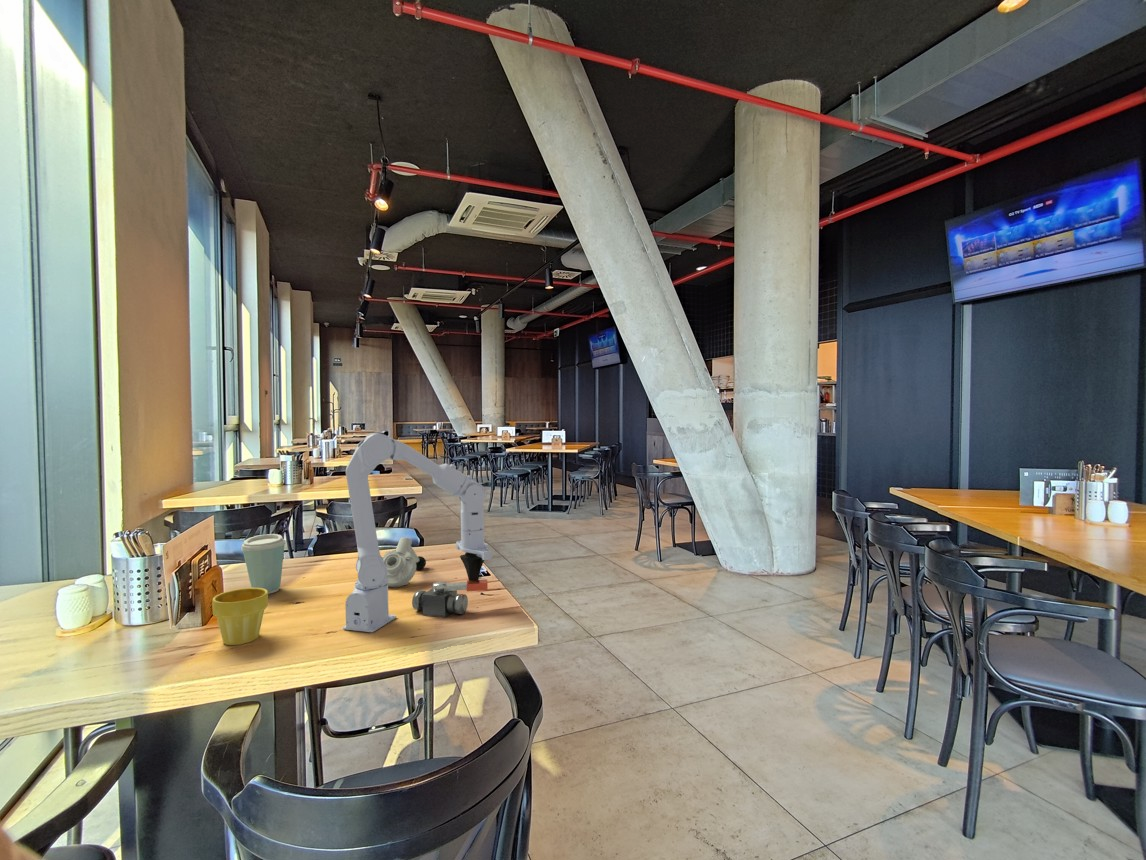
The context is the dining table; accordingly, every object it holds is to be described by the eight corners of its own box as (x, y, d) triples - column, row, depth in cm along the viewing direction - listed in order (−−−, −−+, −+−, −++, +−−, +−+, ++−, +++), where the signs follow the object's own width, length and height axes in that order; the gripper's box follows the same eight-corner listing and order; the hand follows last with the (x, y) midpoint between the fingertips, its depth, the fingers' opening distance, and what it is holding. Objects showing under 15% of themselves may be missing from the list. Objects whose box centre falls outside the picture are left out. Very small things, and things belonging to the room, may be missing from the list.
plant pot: (278, 629, 123) (277, 586, 123) (251, 649, 113) (250, 602, 113) (232, 629, 123) (231, 587, 123) (201, 649, 113) (200, 603, 113)
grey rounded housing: (423, 607, 163) (438, 561, 172) (402, 580, 148) (420, 531, 157) (391, 603, 165) (407, 558, 174) (367, 576, 149) (386, 528, 158)
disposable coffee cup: (284, 595, 147) (282, 539, 146) (238, 600, 143) (236, 543, 142) (289, 583, 157) (287, 532, 156) (246, 588, 153) (244, 535, 152)
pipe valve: (457, 618, 128) (457, 597, 128) (410, 613, 132) (410, 593, 132) (469, 609, 134) (468, 589, 134) (423, 605, 138) (423, 585, 138)
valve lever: (432, 593, 131) (432, 585, 131) (433, 589, 134) (433, 581, 134) (487, 590, 133) (487, 582, 133) (487, 586, 136) (487, 578, 136)
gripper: (501, 531, 133) (502, 586, 133) (472, 522, 144) (473, 572, 145) (475, 535, 128) (477, 592, 129) (448, 526, 140) (449, 578, 140)
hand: (473, 582), depth 137 cm, fingers closed, pressing on valve lever
